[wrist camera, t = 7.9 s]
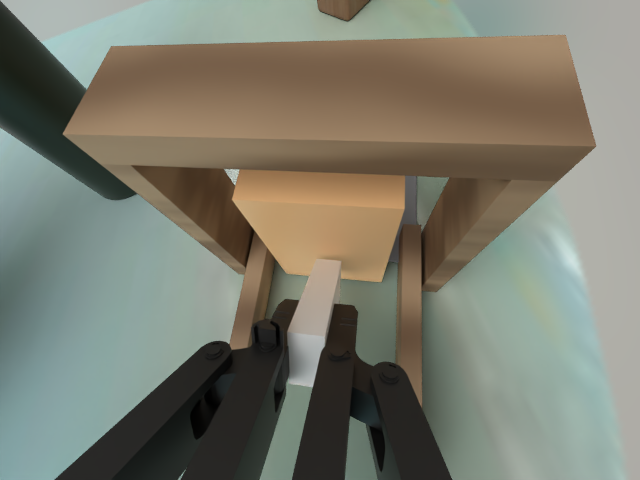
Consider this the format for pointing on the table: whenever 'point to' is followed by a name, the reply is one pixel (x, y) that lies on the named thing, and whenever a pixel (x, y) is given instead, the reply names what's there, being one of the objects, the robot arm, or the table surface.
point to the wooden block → (341, 7)
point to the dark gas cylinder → (45, 106)
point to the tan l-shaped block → (324, 218)
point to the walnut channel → (341, 141)
